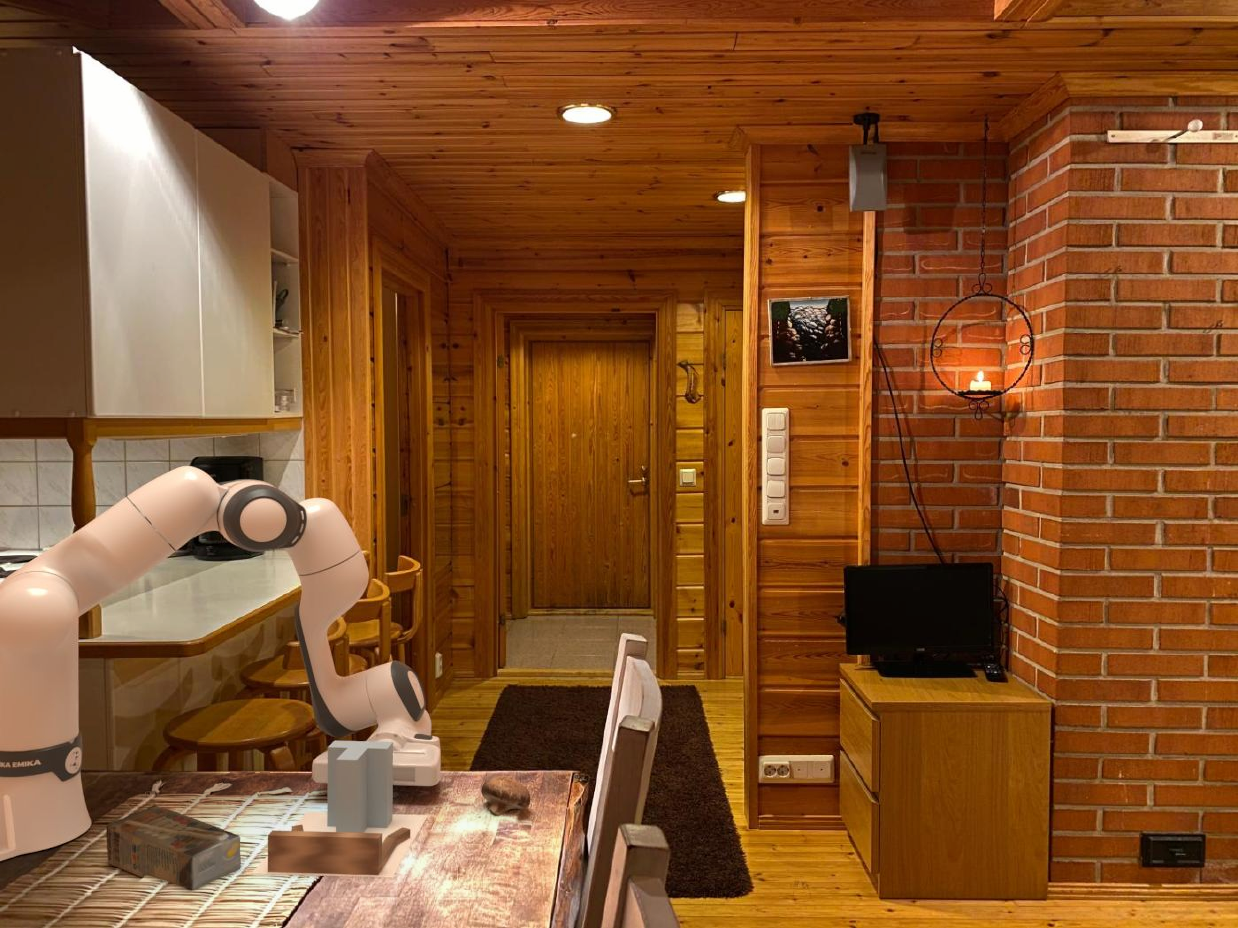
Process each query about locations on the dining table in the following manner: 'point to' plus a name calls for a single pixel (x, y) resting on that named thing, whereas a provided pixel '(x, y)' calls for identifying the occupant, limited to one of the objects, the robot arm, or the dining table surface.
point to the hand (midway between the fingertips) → (364, 785)
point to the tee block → (360, 785)
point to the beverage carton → (172, 847)
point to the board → (319, 824)
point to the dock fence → (331, 851)
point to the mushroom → (505, 795)
